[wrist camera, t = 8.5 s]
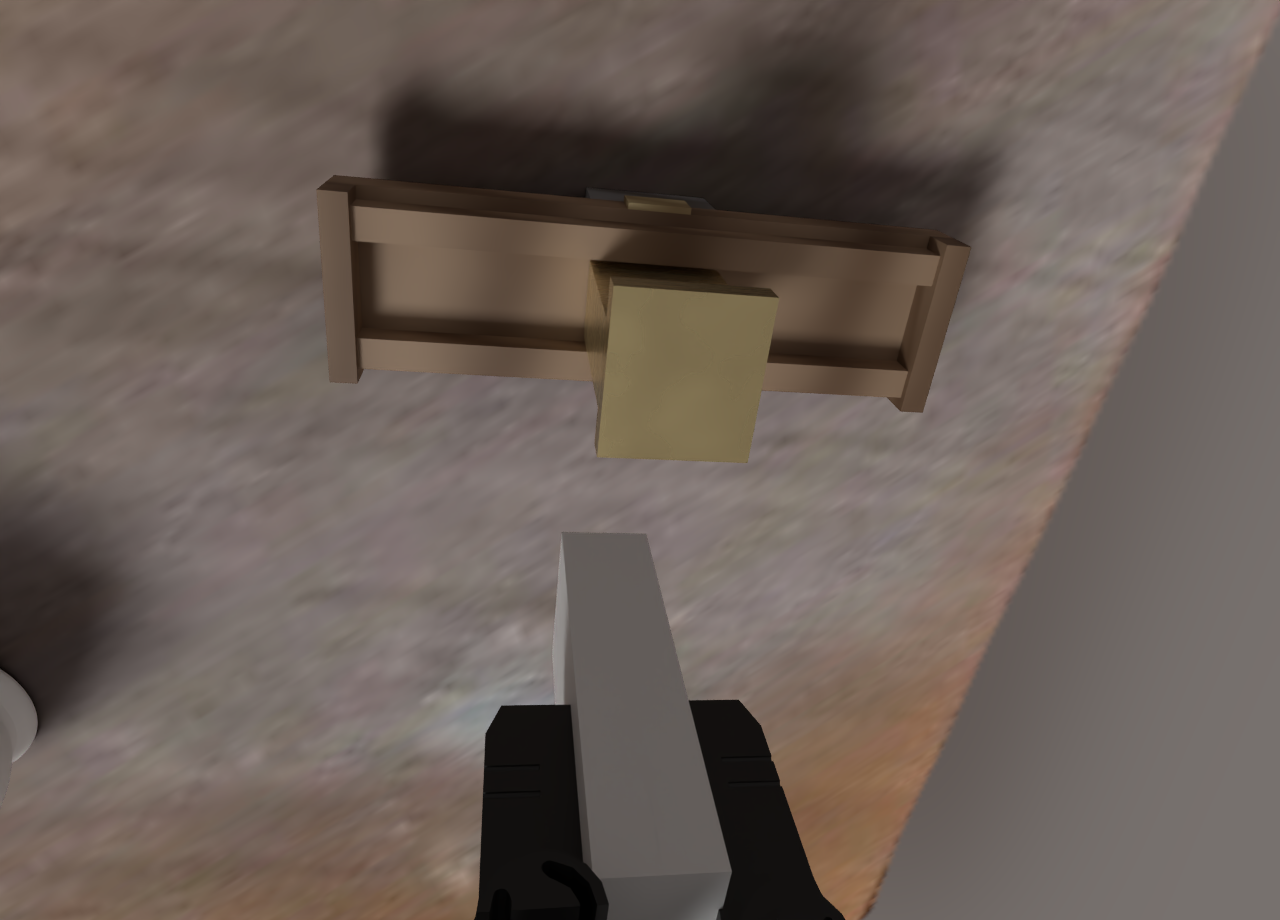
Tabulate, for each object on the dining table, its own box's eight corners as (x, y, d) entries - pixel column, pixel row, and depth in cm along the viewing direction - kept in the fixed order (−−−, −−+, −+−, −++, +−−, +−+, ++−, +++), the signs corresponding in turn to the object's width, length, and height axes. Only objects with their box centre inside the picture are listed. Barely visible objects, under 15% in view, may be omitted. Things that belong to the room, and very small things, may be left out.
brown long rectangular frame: (356, 338, 36) (330, 388, 31) (346, 158, 32) (315, 182, 27) (872, 369, 39) (920, 417, 35) (913, 211, 36) (973, 240, 31)
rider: (581, 365, 33) (596, 457, 26) (592, 225, 31) (613, 285, 24) (700, 372, 34) (747, 463, 27) (721, 236, 31) (779, 298, 24)
